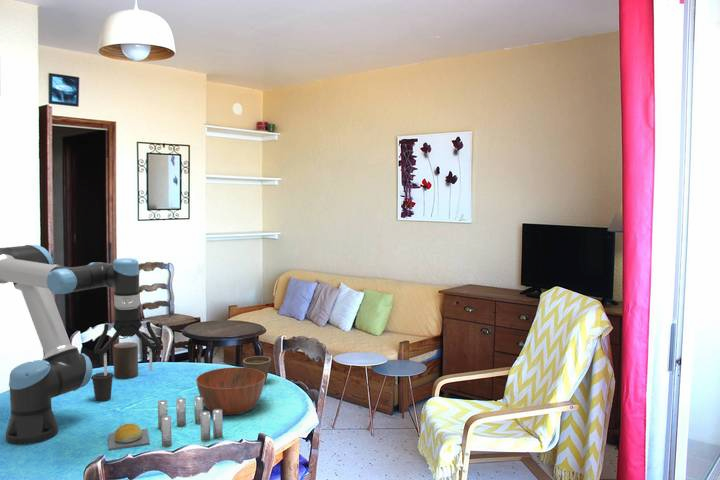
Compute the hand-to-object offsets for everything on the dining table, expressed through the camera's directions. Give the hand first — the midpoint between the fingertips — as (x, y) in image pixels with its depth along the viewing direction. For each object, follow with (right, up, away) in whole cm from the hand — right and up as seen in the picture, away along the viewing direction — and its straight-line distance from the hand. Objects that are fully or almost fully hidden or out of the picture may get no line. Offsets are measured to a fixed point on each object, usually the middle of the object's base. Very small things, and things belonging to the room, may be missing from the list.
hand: (128, 372), depth 196 cm
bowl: (+27, -20, +29) cm, 44 cm away
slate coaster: (0, -22, 0) cm, 22 cm away
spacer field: (+18, -21, +6) cm, 29 cm away
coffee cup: (-24, -18, +37) cm, 47 cm away
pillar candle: (-25, -16, +65) cm, 71 cm away
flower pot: (+32, -17, +57) cm, 67 cm away
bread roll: (0, -21, 0) cm, 21 cm away
